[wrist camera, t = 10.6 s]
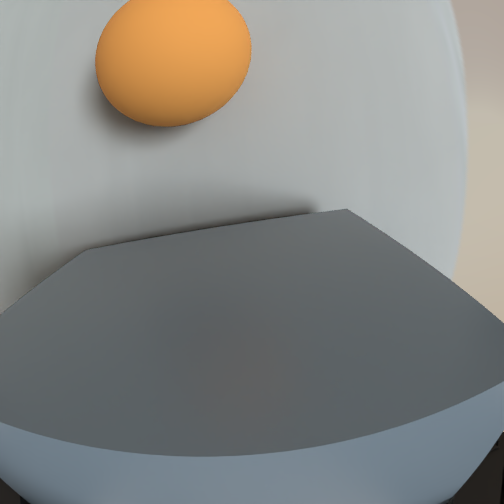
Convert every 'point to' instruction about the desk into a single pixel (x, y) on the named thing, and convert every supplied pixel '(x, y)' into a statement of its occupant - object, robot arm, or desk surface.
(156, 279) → the grey-blue box
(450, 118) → the desk surface
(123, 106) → the ball
